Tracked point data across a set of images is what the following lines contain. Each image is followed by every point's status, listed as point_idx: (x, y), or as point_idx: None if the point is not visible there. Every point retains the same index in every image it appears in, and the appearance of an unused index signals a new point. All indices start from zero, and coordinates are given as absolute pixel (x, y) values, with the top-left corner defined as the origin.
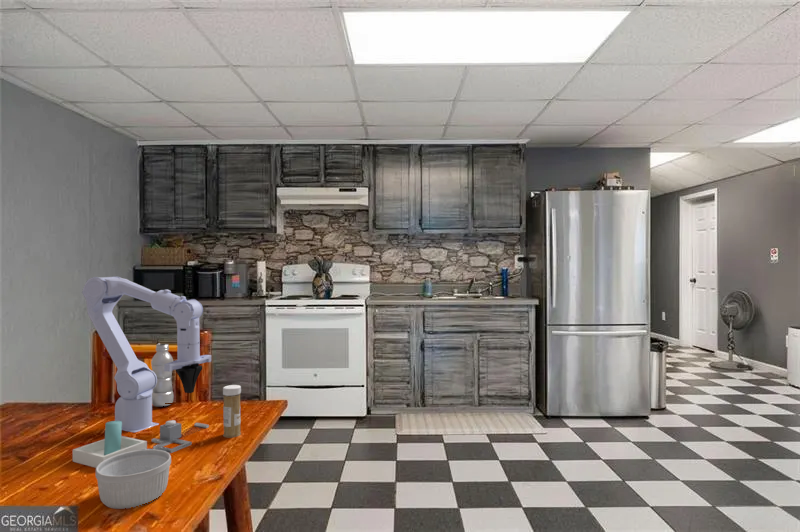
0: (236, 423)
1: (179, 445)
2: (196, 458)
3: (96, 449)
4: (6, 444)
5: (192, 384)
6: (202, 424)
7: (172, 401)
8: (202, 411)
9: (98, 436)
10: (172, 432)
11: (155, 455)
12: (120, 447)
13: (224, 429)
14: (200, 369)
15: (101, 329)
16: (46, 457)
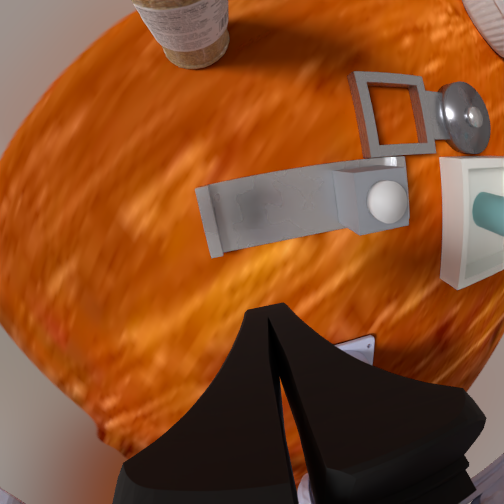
0: None
1: (392, 82)
2: (377, 7)
3: (484, 260)
4: None
5: (280, 334)
6: (209, 215)
7: None
8: (124, 374)
9: (407, 370)
10: (382, 167)
11: (498, 4)
12: (486, 199)
13: (225, 33)
14: (162, 466)
15: None
16: (493, 311)
